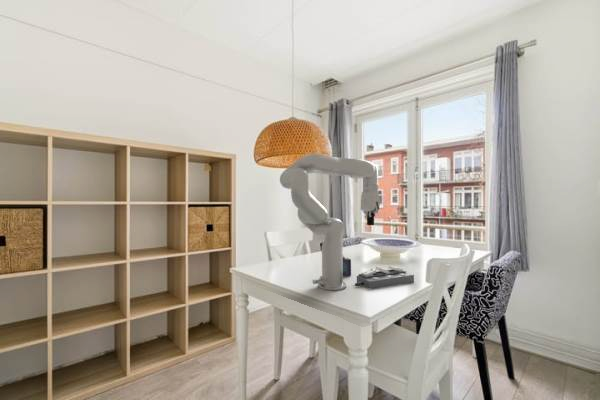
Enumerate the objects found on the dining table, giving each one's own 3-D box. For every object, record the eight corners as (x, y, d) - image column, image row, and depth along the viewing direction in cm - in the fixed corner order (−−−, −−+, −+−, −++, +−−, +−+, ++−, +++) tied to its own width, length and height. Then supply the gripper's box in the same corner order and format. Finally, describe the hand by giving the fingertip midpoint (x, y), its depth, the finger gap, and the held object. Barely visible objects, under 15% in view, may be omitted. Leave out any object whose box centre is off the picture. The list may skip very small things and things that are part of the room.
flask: (333, 275, 146) (333, 255, 146) (334, 273, 148) (334, 254, 148) (350, 276, 143) (350, 256, 143) (351, 275, 145) (351, 255, 145)
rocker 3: (393, 269, 134) (393, 267, 134) (388, 268, 138) (388, 265, 138) (402, 271, 137) (403, 269, 137) (397, 270, 140) (397, 267, 140)
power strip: (362, 290, 121) (362, 280, 121) (349, 284, 130) (349, 275, 130) (414, 281, 133) (413, 273, 133) (399, 276, 142) (398, 268, 142)
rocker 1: (366, 276, 128) (365, 274, 128) (361, 274, 131) (361, 272, 131) (376, 272, 130) (376, 269, 130) (371, 270, 134) (371, 267, 134)
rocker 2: (380, 270, 131) (381, 268, 131) (375, 269, 135) (376, 266, 135) (389, 274, 133) (390, 271, 134) (384, 272, 137) (385, 270, 137)
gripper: (355, 189, 145) (355, 224, 145) (373, 188, 131) (373, 226, 131) (367, 189, 147) (367, 223, 148) (386, 188, 134) (386, 225, 134)
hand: (370, 224), depth 139 cm, fingers closed
